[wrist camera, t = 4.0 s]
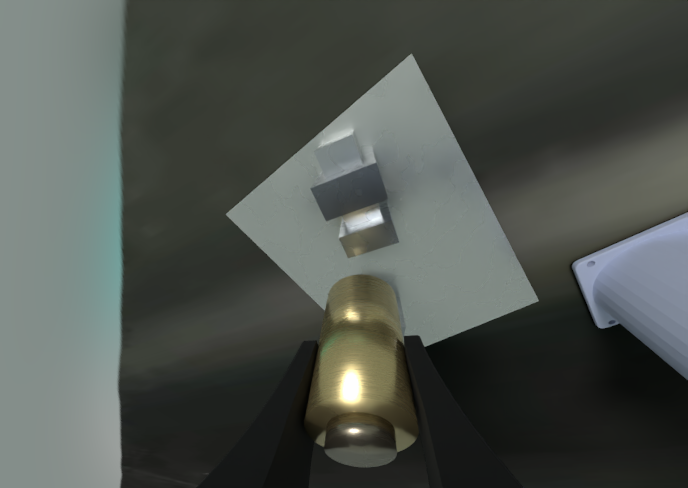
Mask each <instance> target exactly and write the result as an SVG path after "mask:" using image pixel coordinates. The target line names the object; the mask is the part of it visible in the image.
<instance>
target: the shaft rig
mask: <svg viewBox="0 0 688 488" xmlns="http://www.w3.org/2000/svg"><path fill="white" fill-rule="evenodd" d="M226 215H227V216H228V217H229V218H230V219H231V220H232V221H233V222H234V223H235V224H236V225H237V226H238V227H239V228H240V229H241V230H242V231H243V232H244V233H245V234H246V235H247V236H249V237H250V238H251V239H252V240H253V241H254V242H255V243H256V244H257V245H258V246H259V247H260V248H261V249H262V250H263V251H264V252H265V253H266V254H267V255H268V256H269V257H270V258H271V259H272V260H273V261H274V262H275V263H276V264H277V265H278V266H279V267H280V268H281V269H282V270H283V271H284V272H286V273H287V274H288V275H289V276H290V277H291V278H292V279H293V280H294V281H295V282H296V283H297V284H298V285H299V286H300V287H301V288H302V289H303V290H304V291H305V292H306V293H307V294H308V295H309V296H310V297H311V298H312V299H313V300H314V301H315V302H316V303H317V304H318V305H319V306H320V307H321V308H323V309H324V310H325V308H326V303H327V298H328V293H329V291H330V289H331V288H332V286H333V285H334V284H335V283H336V282H338V281H339V280H341V279H343V278H345V277H348V276H351V275H358V274H364V275H371V276H375V277H377V278H380V279H382V280H383V281H385V282H386V283H387V284H389V285H390V286H391V288H392V289H393V290H394V293H395V295H396V299H397V305H398V311H399V317H400V323H401V329H402V335H403V341H404V336H410V335H418V336H420V338H421V340H422V343H423V345H424V347H426V346H428V345H431V344H433V343H436V342H438V341H441V340H443V339H446V338H448V337H450V336H453V335H455V334H458V333H460V332H463V331H465V330H468V329H470V328H473V327H475V326H478V325H480V324H483V323H485V322H488V321H490V320H493V319H495V318H498V317H500V316H503V315H505V314H508V313H510V312H513V311H515V310H518V309H520V308H522V307H525V306H527V305H530V304H532V303H535V302H537V301H539V300H538V298H537V296H536V294H535V292H534V290H533V288H532V287H531V285H530V283H529V281H528V279H527V277H526V275H525V273H524V271H523V269H522V267H521V265H520V263H519V261H518V259H517V257H516V255H515V253H514V252H513V250H512V248H511V246H510V244H509V242H508V240H507V238H506V236H505V234H504V232H503V230H502V228H501V226H500V224H499V222H498V220H497V218H496V217H495V215H494V213H493V211H492V209H491V207H490V205H489V203H488V201H487V199H486V197H485V195H484V193H483V191H482V189H481V187H480V185H479V184H478V182H477V180H476V178H475V176H474V174H473V172H472V170H471V168H470V166H469V164H468V162H467V160H466V158H465V156H464V154H463V152H462V150H461V149H460V147H459V145H458V143H457V141H456V139H455V137H454V135H453V133H452V131H451V129H450V127H449V125H448V123H447V121H446V119H445V117H444V115H443V114H442V112H441V110H440V108H439V106H438V104H437V102H436V100H435V98H434V96H433V94H432V92H431V90H430V88H429V86H428V84H427V82H426V80H425V79H424V77H423V75H422V73H421V71H420V69H419V67H418V65H417V63H416V61H415V59H414V57H413V55H412V54H410V55H409V56H408V57H407V58H406V59H405V60H404V61H402V62H401V63H400V64H399V65H398V66H397V67H395V68H394V69H393V70H392V71H391V72H390V73H389V74H387V75H386V76H385V77H384V78H383V79H382V80H380V81H379V82H378V83H377V84H376V85H375V86H373V87H372V88H371V89H370V90H369V91H368V92H367V93H365V94H364V95H363V96H362V97H361V98H360V99H358V100H357V101H356V102H355V103H354V104H353V105H352V106H350V107H349V108H348V109H347V110H346V111H345V112H343V113H342V114H341V115H340V116H339V117H338V118H337V119H335V120H334V121H333V122H332V123H331V124H330V125H328V126H327V127H326V128H325V129H324V130H323V131H321V132H320V133H319V134H318V135H317V136H316V137H315V138H313V139H312V140H311V141H310V142H309V143H308V144H306V145H305V146H304V147H303V148H302V149H301V150H300V151H298V152H297V153H296V154H295V155H294V156H293V157H291V158H290V159H289V160H288V161H287V162H286V163H285V164H283V165H282V166H281V167H280V168H279V169H278V170H276V171H275V172H274V173H273V174H272V175H271V176H269V177H268V178H267V179H266V180H265V181H264V182H263V183H261V184H260V185H259V186H258V187H257V188H256V189H254V190H253V191H252V192H251V193H250V194H249V195H248V196H246V197H245V198H244V199H243V200H242V201H241V202H239V203H238V204H237V205H236V206H235V207H234V208H233V209H231V210H230V211H229V212H228V213H227V214H226Z"/></svg>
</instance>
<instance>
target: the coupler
mask: <svg viewBox="0 0 688 488" xmlns="http://www.w3.org/2000/svg"><path fill="white" fill-rule="evenodd" d="M304 427H305V430H306V432H307V434H308V435H309V437H310V438H311V439H313V440H314V441H315V442H316V443H318V444H319V445H321V446H323V447H324V450H325V452H326V454H327V455H328V456H329V457H330V458H332V459H333V460H335V461H337V462H340V463H342V464H345V465H350V466H355V467H376V466H381V465H385V464H387V463H389V462H391V461H393V460H394V459H395V457H396V455H397V452H399V451H402V450H404V449H406V448H407V447H409V446H410V445H411V444H413V443H414V441H415V440H416V439H417V436H418V433H419V430H418V423H417V417H416V411H415V405H414V399H413V393H412V388H411V382H410V376H409V371H408V366H407V360H406V354H405V348H404V341H403V335H402V329H401V323H400V317H399V311H398V305H397V299H396V295H395V293H394V290H393V289H392V288H391V286H390V285H389V284H387V283H386V282H385V281H383V280H382V279H380V278H377V277H375V276H371V275H364V274H358V275H351V276H348V277H345V278H343V279H341V280H339V281H338V282H336V283H335V284H334V285H333V286H332V288H331V289H330V291H329V293H328V298H327V303H326V308H325V314H324V319H323V324H322V330H321V335H320V340H319V345H318V351H317V356H316V361H315V367H314V372H313V377H312V383H311V388H310V393H309V399H308V404H307V409H306V415H305V420H304Z"/></svg>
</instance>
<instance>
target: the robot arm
mask: <svg viewBox="0 0 688 488" xmlns="http://www.w3.org/2000/svg"><path fill="white" fill-rule="evenodd" d="M588 262H589V263H588ZM572 269H573V271H574V274H575V276H576V279H577V281H578V284H579V286H580V289H581V291H582V294H583V296H584V298H585V301H586V303H587V306H588V308H589V311H590V313H591V316H592V318H593V321H594V323H595V325H596V326H598V327H599V328H607V327H610V326H613V325H616V324H619V323H620V324H621V325H623V326H624V327H625V328H626V329H627V330H628V331H630V332H631V333H632V334H633V335H634V336H636V337H637V338H638V339H639V340H640V341H642V342H643V343H644V344H645V345H646V346H648V347H649V348H650V349H651V350H652V351H653V352H655V353H656V354H657V355H658V356H659V357H661V358H662V359H663V360H664V361H665V362H667V363H668V364H669V365H670V366H671V367H673V368H674V369H675V370H676V371H677V372H679V373H680V374H681V375H682V376H683V377H684V378H686V379H687V380H688V212H687V213H685V214H683V215H680V216H678V217H676V218H673V219H671V220H669V221H666V222H664V223H662V224H659V225H657V226H655V227H653V228H650V229H648V230H646V231H643V232H641V233H639V234H636V235H634V236H632V237H630V238H627V239H625V240H623V241H620V242H618V243H616V244H613V245H611V246H609V247H606V248H604V249H602V250H600V251H597V252H595V253H593V254H590V255H588V256H586V257H583V258H581V259H579V260H577V261H575V262H574V263H573V265H572ZM404 348H405V354H406V360H407V366H408V371H409V376H410V382H411V388H412V393H413V399H414V405H415V411H416V417H417V423H418V430H419V434H420V438H421V443H422V447H423V451H424V456H425V461H426V467H427V473H428V479H429V485H430V488H524V487H523V486H522V485H521V484H520V483H519V482H518V480H517V479H516V478H515V477H514V476H513V474H512V473H511V472H510V471H509V470H508V468H507V467H506V466H505V465H504V464H503V463H502V461H501V460H500V459H499V458H498V457H497V455H496V454H495V453H494V452H493V450H492V449H491V448H490V447H489V445H488V444H487V443H486V442H485V440H484V439H483V438H482V436H481V435H480V434H479V432H478V431H477V430H476V428H475V427H474V426H473V424H472V423H471V422H470V420H469V419H468V418H467V416H466V415H465V413H464V412H463V411H462V409H461V408H460V406H459V405H458V403H457V402H456V400H455V399H454V397H453V396H452V394H451V393H450V391H449V390H448V388H447V386H446V385H445V383H444V382H443V380H442V378H441V377H440V375H439V373H438V372H437V370H436V368H435V366H434V365H433V363H432V361H431V359H430V357H429V355H428V353H427V351H426V349H425V347H424V345H423V343H422V340H421V338H420V336H418V335H410V336H404ZM317 351H318V344H317V341H304V342H303V343H302V344H301V346H300V348H299V350H298V352H297V353H296V355H295V357H294V359H293V361H292V362H291V364H290V366H289V367H288V369H287V371H286V373H285V374H284V376H283V377H282V379H281V381H280V382H279V384H278V386H277V387H276V389H275V390H274V392H273V393H272V395H271V396H270V398H269V399H268V401H267V402H266V404H265V405H264V407H263V408H262V410H261V411H260V412H259V414H258V415H257V416H256V418H255V419H254V421H253V422H252V423H251V425H250V426H249V427H248V428H247V430H246V431H245V432H244V434H243V435H242V436H241V437H240V439H239V440H238V441H237V442H236V443H235V445H234V446H233V447H232V448H231V450H230V451H229V452H228V453H227V454H226V455H225V457H224V458H223V459H222V460H221V461H220V462H219V464H218V465H217V466H216V467H215V468H214V469H213V470H212V471H211V472H210V473H209V474H208V476H207V477H206V478H205V479H204V480H203V481H202V482H201V483H200V484H199V485H198V486H197V487H196V488H308V486H309V476H310V466H311V458H312V451H313V445H314V440H313V439H311V438H310V437H309V435H308V434H307V432H306V430H305V427H304V420H305V415H306V409H307V404H308V399H309V393H310V388H311V383H312V377H313V372H314V367H315V361H316V356H317Z"/></svg>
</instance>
